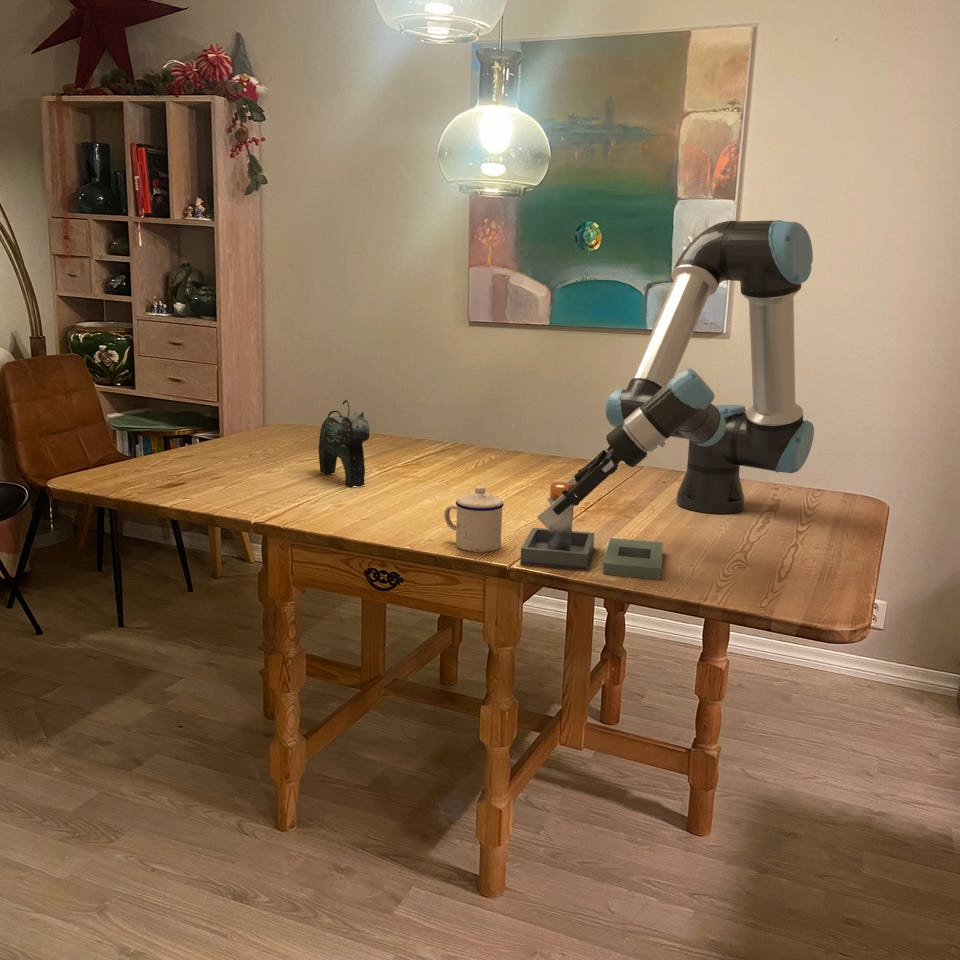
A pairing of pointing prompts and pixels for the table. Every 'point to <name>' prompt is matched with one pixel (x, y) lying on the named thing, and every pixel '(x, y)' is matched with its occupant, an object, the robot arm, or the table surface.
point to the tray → (557, 551)
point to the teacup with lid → (477, 521)
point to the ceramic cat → (344, 445)
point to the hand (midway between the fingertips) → (547, 513)
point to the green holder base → (633, 558)
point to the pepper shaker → (560, 521)
